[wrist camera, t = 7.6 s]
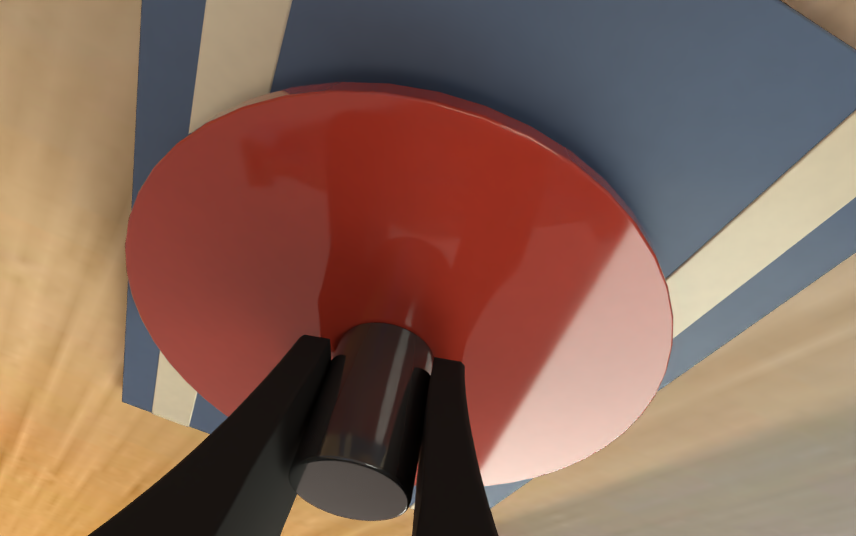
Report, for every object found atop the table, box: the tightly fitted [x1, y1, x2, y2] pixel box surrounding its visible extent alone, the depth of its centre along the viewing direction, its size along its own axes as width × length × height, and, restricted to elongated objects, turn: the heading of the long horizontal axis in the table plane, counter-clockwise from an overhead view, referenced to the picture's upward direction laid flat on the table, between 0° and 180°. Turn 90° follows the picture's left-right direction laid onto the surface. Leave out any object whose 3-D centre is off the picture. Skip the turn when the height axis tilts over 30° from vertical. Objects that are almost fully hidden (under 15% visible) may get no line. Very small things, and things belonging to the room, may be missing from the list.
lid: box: [125, 82, 674, 521], centre depth 11 cm, size 13×13×4 cm
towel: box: [122, 0, 856, 510], centre depth 13 cm, size 14×19×1 cm
